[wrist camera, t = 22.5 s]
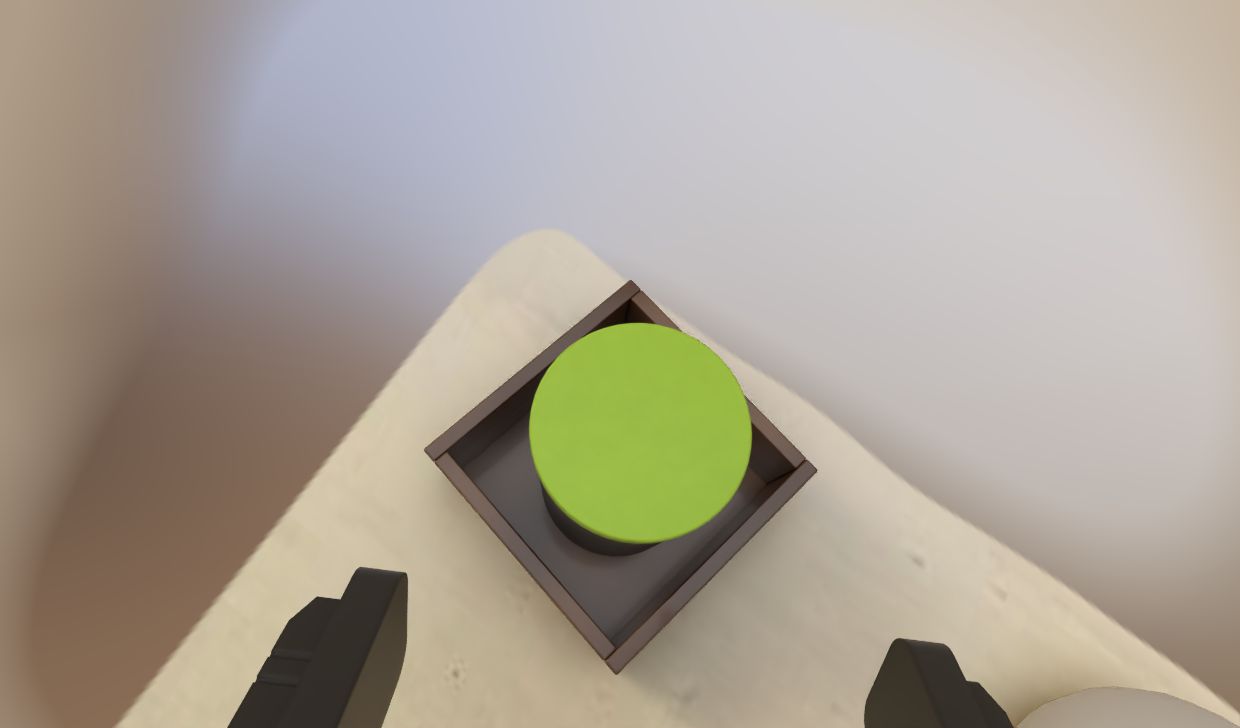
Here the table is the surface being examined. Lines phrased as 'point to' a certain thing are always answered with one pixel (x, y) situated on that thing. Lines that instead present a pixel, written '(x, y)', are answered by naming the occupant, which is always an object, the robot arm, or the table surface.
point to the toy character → (1122, 711)
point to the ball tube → (637, 437)
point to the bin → (574, 577)
